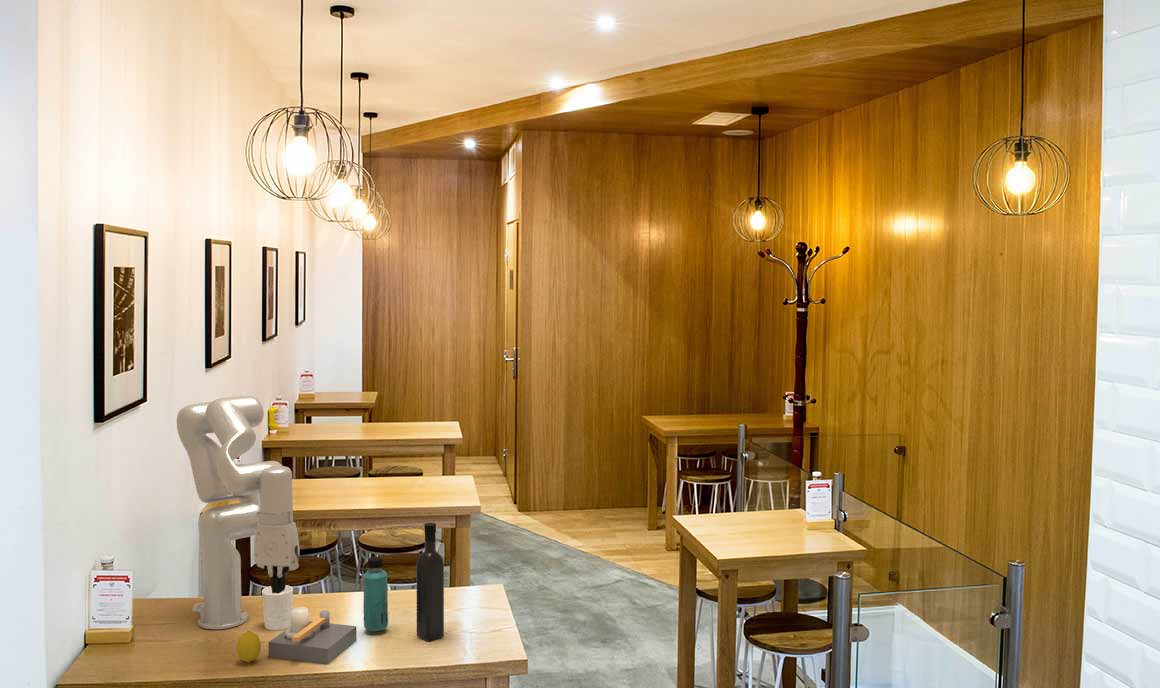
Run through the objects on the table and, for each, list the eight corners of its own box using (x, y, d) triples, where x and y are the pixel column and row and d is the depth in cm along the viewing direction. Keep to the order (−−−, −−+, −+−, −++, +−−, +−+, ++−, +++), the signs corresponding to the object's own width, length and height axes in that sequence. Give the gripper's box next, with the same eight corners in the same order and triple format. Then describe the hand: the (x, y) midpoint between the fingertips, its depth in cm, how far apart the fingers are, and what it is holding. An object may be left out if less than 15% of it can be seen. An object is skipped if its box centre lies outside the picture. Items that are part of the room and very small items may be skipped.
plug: (280, 653, 234) (279, 613, 233) (294, 643, 240) (294, 604, 239) (305, 656, 232) (304, 616, 231) (318, 645, 239) (318, 606, 238)
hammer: (299, 649, 227) (299, 634, 227) (290, 648, 228) (290, 633, 227) (331, 625, 242) (331, 611, 242) (322, 624, 243) (322, 610, 243)
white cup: (299, 623, 254) (299, 587, 253) (278, 633, 247) (278, 596, 246) (277, 618, 257) (276, 583, 256) (256, 628, 250) (255, 591, 249)
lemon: (240, 658, 231) (239, 626, 230) (263, 658, 231) (262, 626, 231) (234, 668, 225) (233, 635, 225) (257, 667, 226) (257, 635, 225)
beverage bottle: (382, 637, 245) (382, 562, 243) (358, 635, 246) (358, 560, 245) (392, 628, 251) (392, 555, 250) (369, 626, 253) (368, 553, 251)
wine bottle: (414, 636, 246) (414, 523, 244) (432, 630, 250) (432, 519, 248) (428, 642, 242) (428, 528, 240) (445, 636, 246) (445, 524, 244)
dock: (268, 657, 232) (268, 642, 231) (300, 634, 246) (300, 620, 246) (327, 664, 228) (327, 648, 228) (356, 641, 242) (356, 626, 242)
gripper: (240, 519, 227) (242, 594, 228) (296, 523, 223) (297, 599, 224) (258, 512, 234) (259, 584, 235) (312, 515, 231) (313, 589, 232)
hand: (278, 591), depth 230 cm, fingers closed
